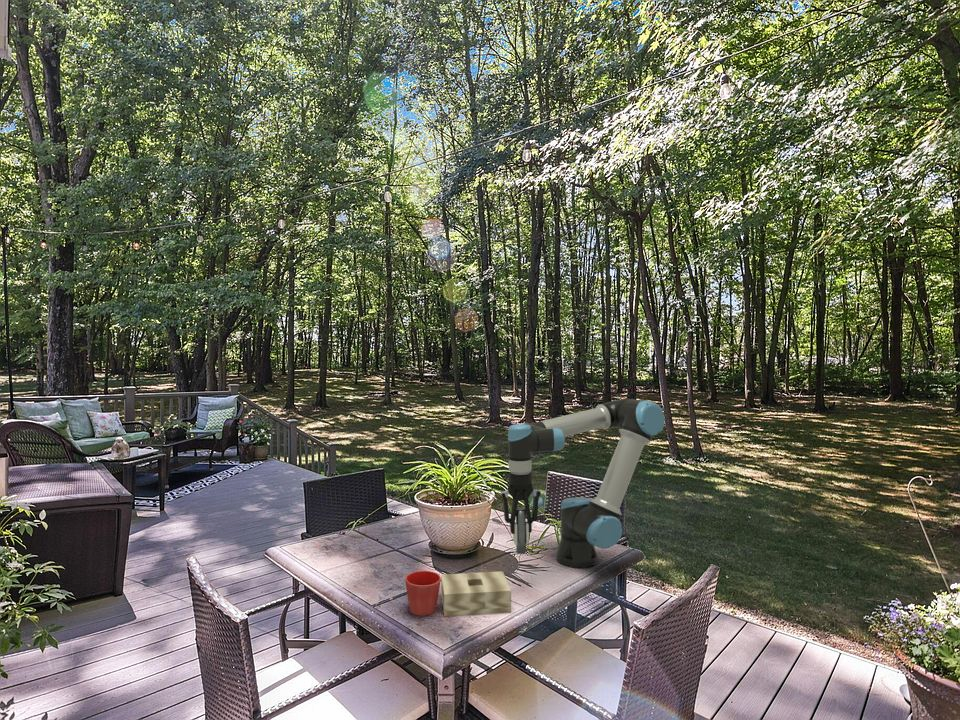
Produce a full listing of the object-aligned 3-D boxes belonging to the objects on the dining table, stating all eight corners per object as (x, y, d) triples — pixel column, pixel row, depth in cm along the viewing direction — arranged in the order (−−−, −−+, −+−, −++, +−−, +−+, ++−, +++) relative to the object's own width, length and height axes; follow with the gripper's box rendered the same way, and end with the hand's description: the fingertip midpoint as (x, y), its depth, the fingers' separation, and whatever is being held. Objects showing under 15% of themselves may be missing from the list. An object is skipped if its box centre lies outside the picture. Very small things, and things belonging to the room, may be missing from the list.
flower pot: (441, 600, 164) (441, 569, 164) (439, 618, 153) (440, 585, 153) (407, 601, 164) (407, 570, 163) (403, 619, 153) (403, 585, 152)
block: (502, 591, 171) (502, 571, 171) (511, 612, 157) (511, 590, 157) (441, 594, 168) (441, 574, 168) (444, 616, 154) (444, 594, 154)
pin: (524, 549, 175) (524, 508, 175) (527, 553, 172) (526, 510, 172) (515, 550, 175) (515, 508, 175) (517, 554, 172) (516, 511, 171)
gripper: (541, 468, 178) (542, 537, 178) (494, 470, 176) (495, 540, 176) (547, 473, 170) (548, 545, 171) (497, 475, 168) (498, 548, 169)
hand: (521, 542), depth 173 cm, fingers closed on pin, 3 cm apart
